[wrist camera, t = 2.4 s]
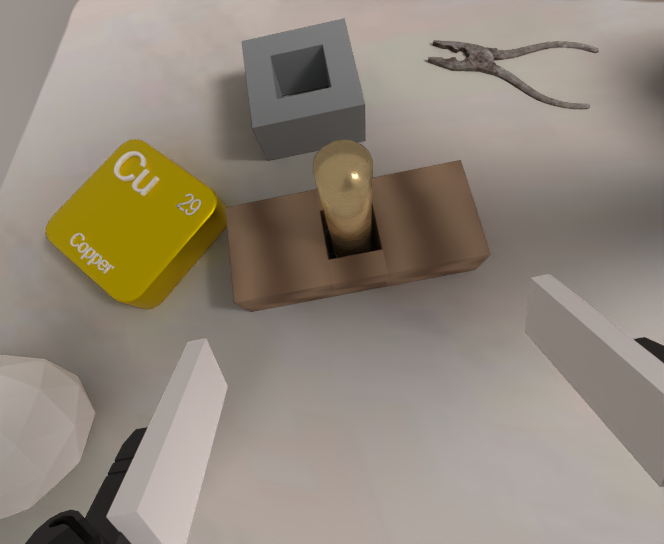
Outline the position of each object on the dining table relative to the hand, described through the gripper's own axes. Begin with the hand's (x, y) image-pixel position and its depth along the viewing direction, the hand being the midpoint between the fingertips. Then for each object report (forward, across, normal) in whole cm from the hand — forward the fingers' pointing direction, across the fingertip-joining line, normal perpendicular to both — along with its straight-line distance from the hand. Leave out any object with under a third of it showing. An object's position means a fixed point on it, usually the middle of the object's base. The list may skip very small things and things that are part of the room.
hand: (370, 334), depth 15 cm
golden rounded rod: (+24, +1, -7) cm, 25 cm away
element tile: (+30, -22, -2) cm, 37 cm away
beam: (+24, +1, -7) cm, 25 cm away
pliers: (+37, +24, +5) cm, 44 cm away
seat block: (+37, -1, +6) cm, 38 cm away
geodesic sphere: (+15, -32, -17) cm, 39 cm away
